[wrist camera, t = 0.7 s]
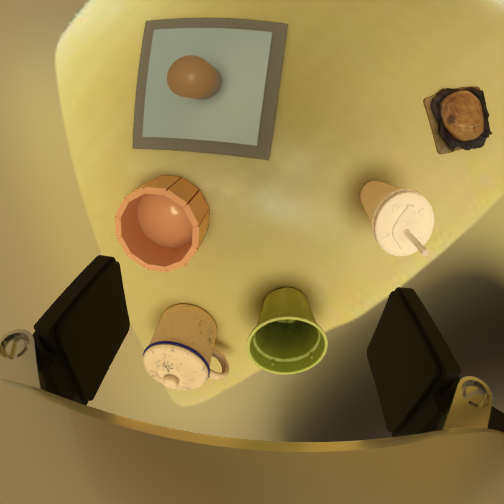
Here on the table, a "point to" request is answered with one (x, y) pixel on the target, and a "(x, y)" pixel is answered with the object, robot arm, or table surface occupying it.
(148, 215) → the bowl
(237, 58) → the cover sheet
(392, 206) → the smoothie
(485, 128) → the bread roll
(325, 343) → the plant pot
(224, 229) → the table surface
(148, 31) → the mat
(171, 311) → the teacup with lid
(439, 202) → the table surface
